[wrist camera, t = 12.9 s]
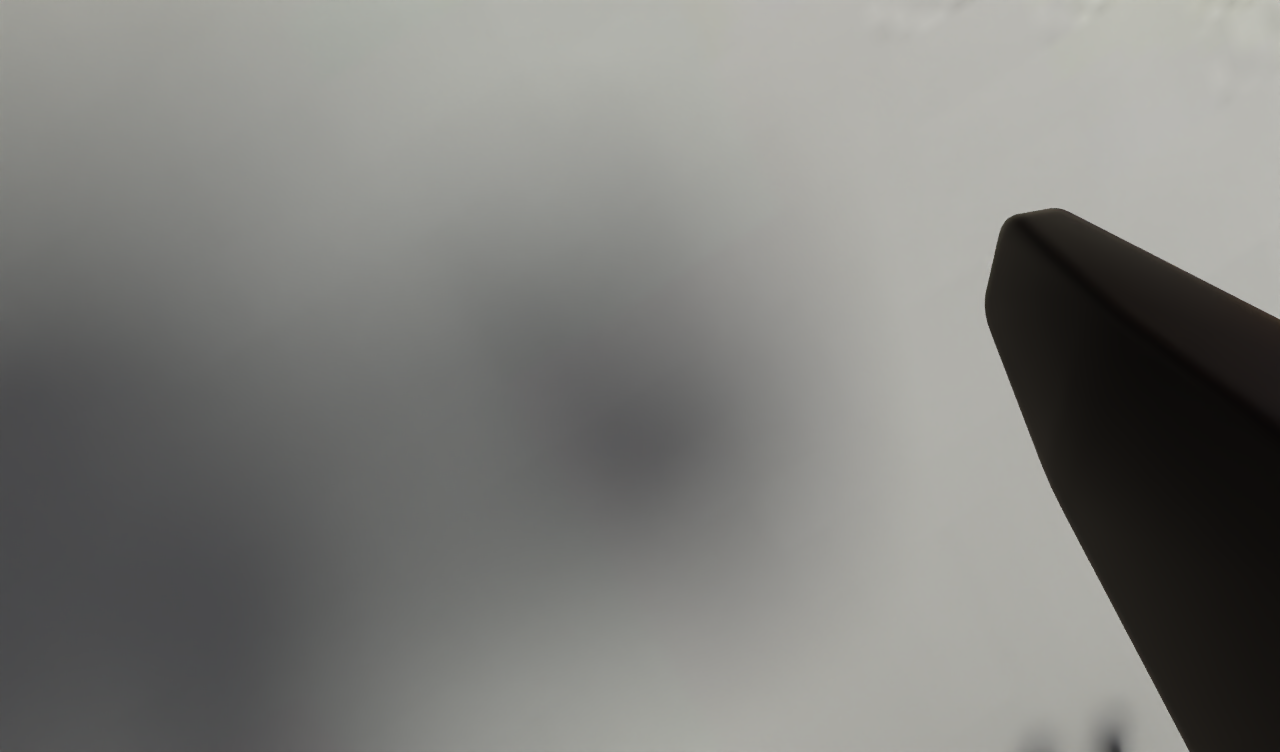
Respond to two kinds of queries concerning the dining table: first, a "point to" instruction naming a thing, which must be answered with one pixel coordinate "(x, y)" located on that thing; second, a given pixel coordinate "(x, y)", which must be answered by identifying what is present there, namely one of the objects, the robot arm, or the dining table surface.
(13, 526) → the dining table surface
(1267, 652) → the robot arm
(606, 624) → the dining table surface
